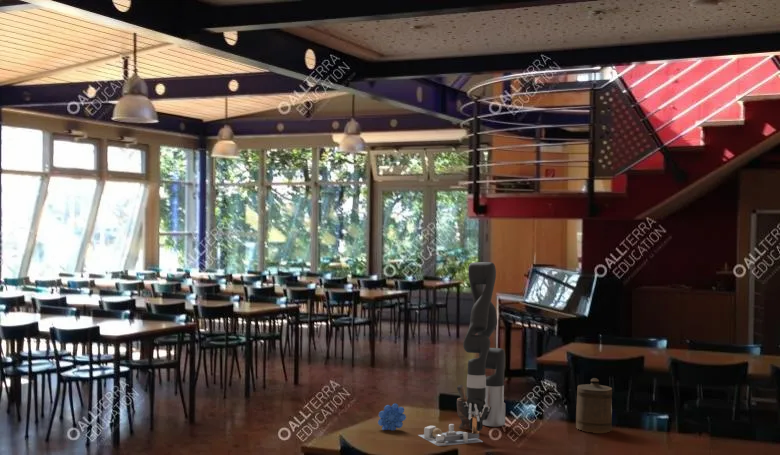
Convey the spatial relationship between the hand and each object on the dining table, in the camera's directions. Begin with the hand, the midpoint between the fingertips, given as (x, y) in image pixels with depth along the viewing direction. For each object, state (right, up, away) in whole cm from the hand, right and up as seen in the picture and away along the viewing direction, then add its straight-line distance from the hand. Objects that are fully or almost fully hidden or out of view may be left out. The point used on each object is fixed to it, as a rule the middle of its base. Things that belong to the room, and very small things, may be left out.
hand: (475, 429), depth 312 cm
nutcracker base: (-10, -5, +1) cm, 11 cm away
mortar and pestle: (-2, -6, +19) cm, 20 cm away
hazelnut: (-15, -4, +1) cm, 16 cm away
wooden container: (+53, -7, +27) cm, 60 cm away
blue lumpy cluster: (-33, -5, +15) cm, 37 cm away
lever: (-8, -3, -3) cm, 9 cm away
